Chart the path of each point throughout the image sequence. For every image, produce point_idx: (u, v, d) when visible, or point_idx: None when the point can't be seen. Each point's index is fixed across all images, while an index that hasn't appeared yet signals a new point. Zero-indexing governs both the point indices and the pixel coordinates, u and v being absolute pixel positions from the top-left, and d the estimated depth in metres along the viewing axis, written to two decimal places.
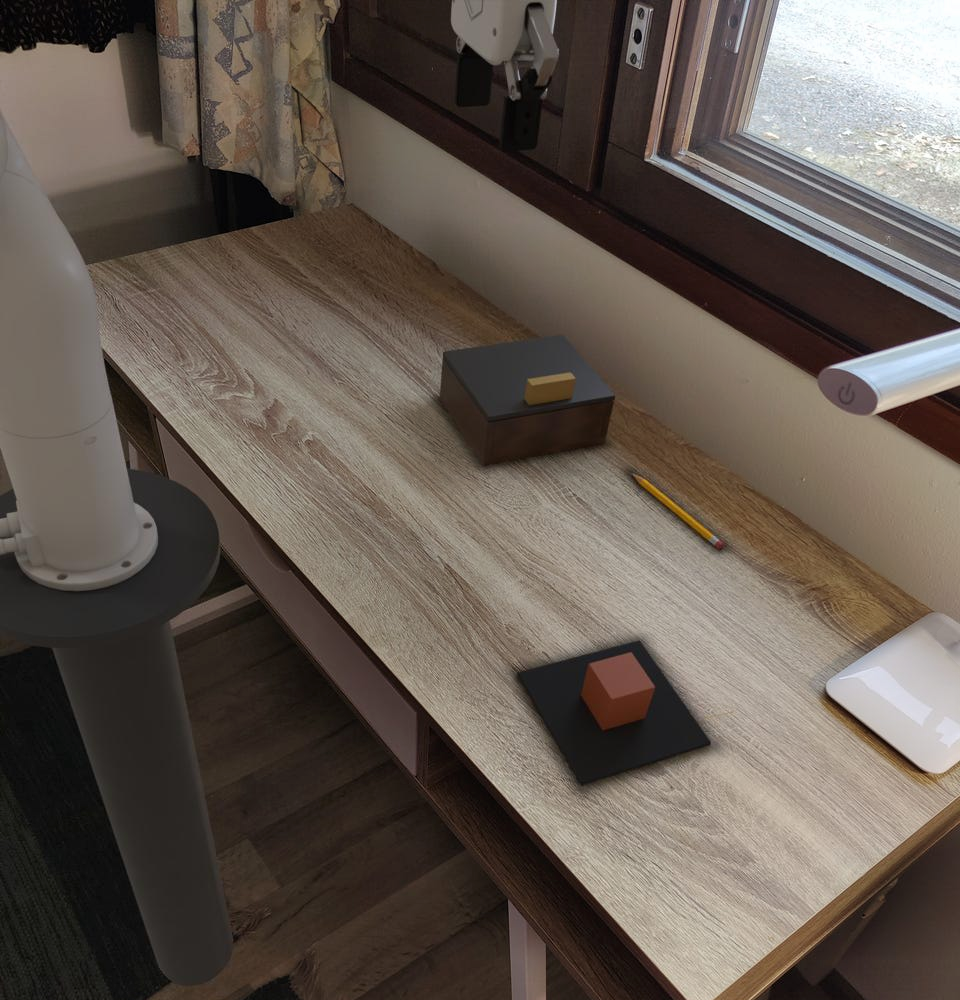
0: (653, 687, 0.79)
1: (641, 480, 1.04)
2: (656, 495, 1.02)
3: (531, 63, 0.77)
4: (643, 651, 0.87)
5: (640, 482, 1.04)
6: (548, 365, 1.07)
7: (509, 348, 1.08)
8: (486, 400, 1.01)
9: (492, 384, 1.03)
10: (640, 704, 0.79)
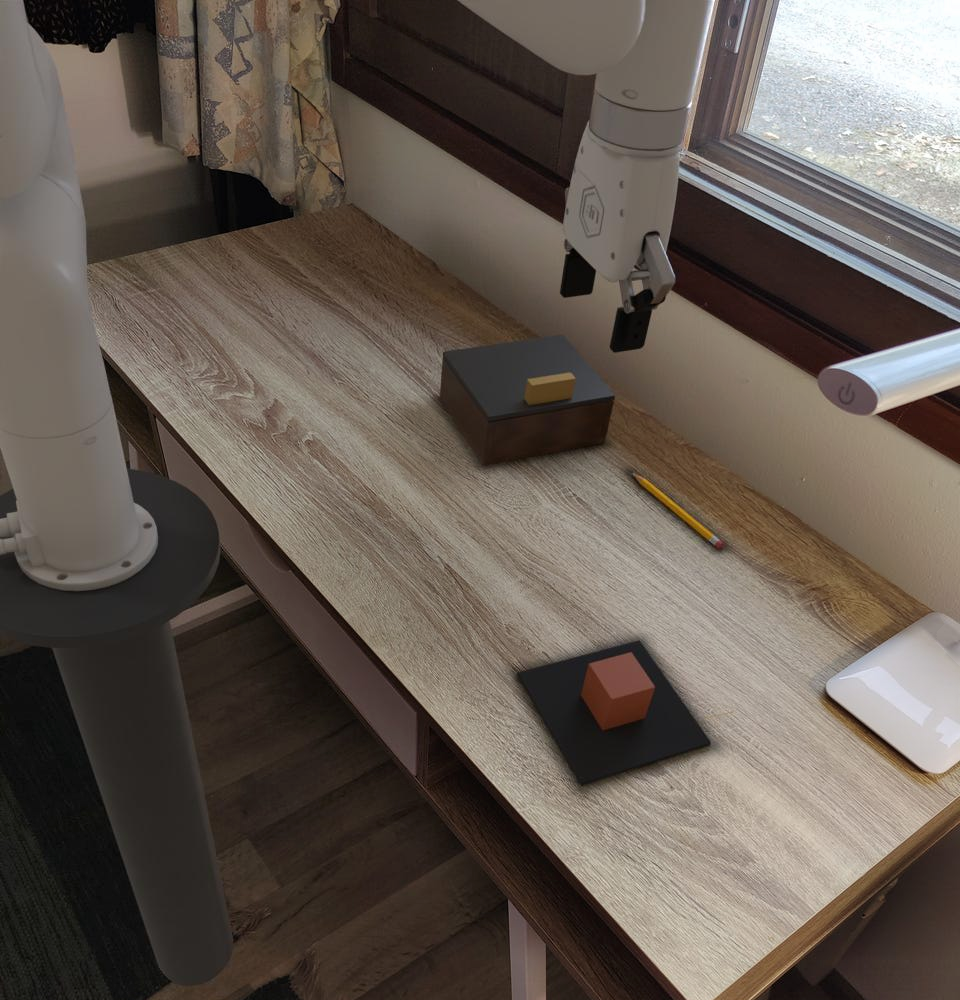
0: (653, 687, 0.79)
1: (641, 480, 1.04)
2: (656, 495, 1.02)
3: (643, 278, 0.82)
4: (643, 651, 0.87)
5: (640, 482, 1.04)
6: (548, 365, 1.07)
7: (509, 348, 1.08)
8: (486, 400, 1.01)
9: (492, 384, 1.03)
10: (640, 704, 0.79)
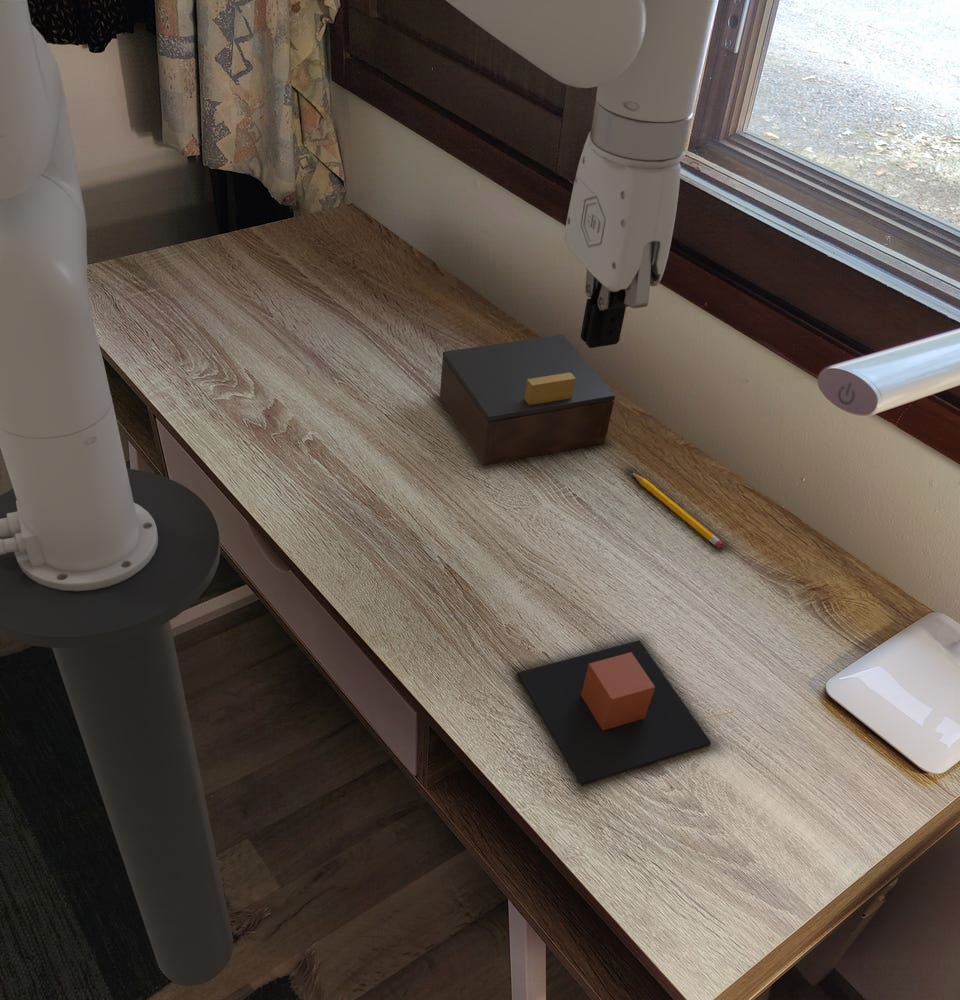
0: (653, 687, 0.79)
1: (641, 480, 1.04)
2: (656, 495, 1.02)
3: None
4: (643, 651, 0.87)
5: (640, 482, 1.04)
6: (548, 365, 1.07)
7: (509, 348, 1.08)
8: (486, 400, 1.01)
9: (492, 384, 1.03)
10: (640, 704, 0.79)
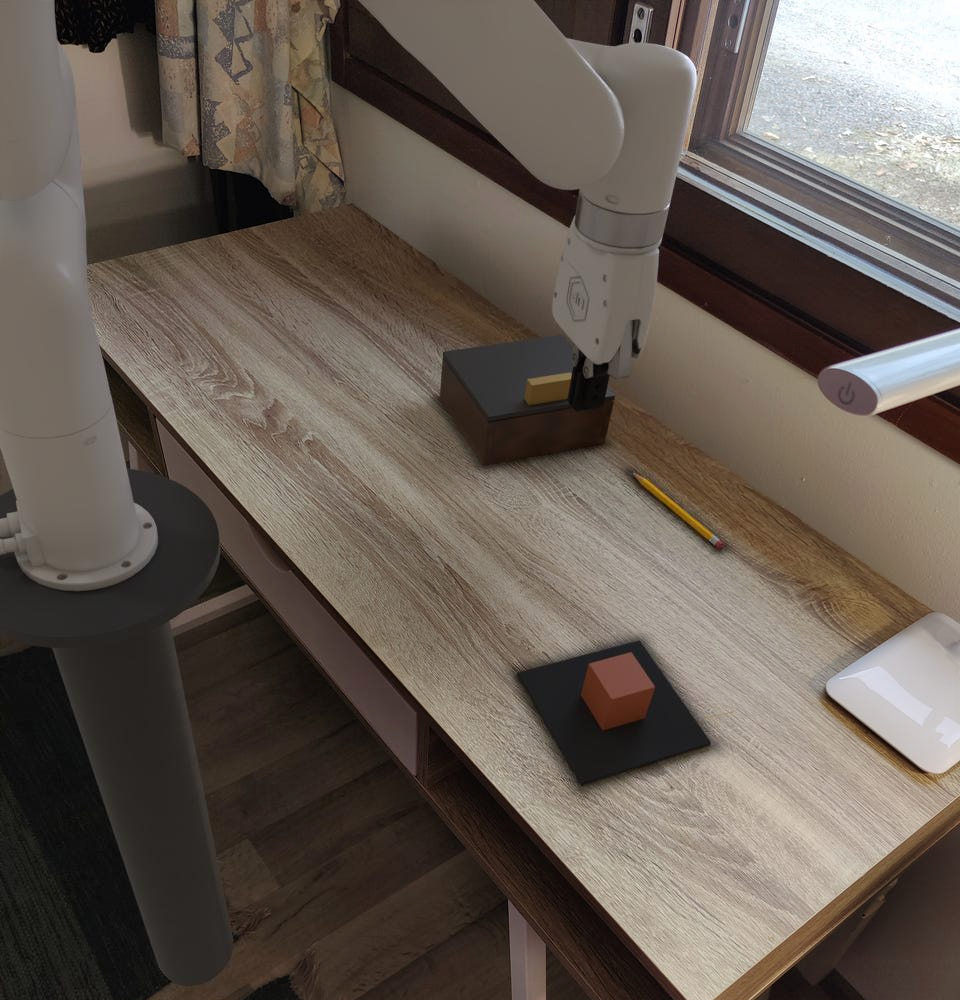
0: (653, 687, 0.79)
1: (641, 479, 1.04)
2: (656, 494, 1.02)
3: None
4: (643, 651, 0.87)
5: (641, 481, 1.04)
6: (548, 365, 1.07)
7: (509, 348, 1.08)
8: (486, 400, 1.01)
9: (492, 384, 1.03)
10: (640, 704, 0.79)
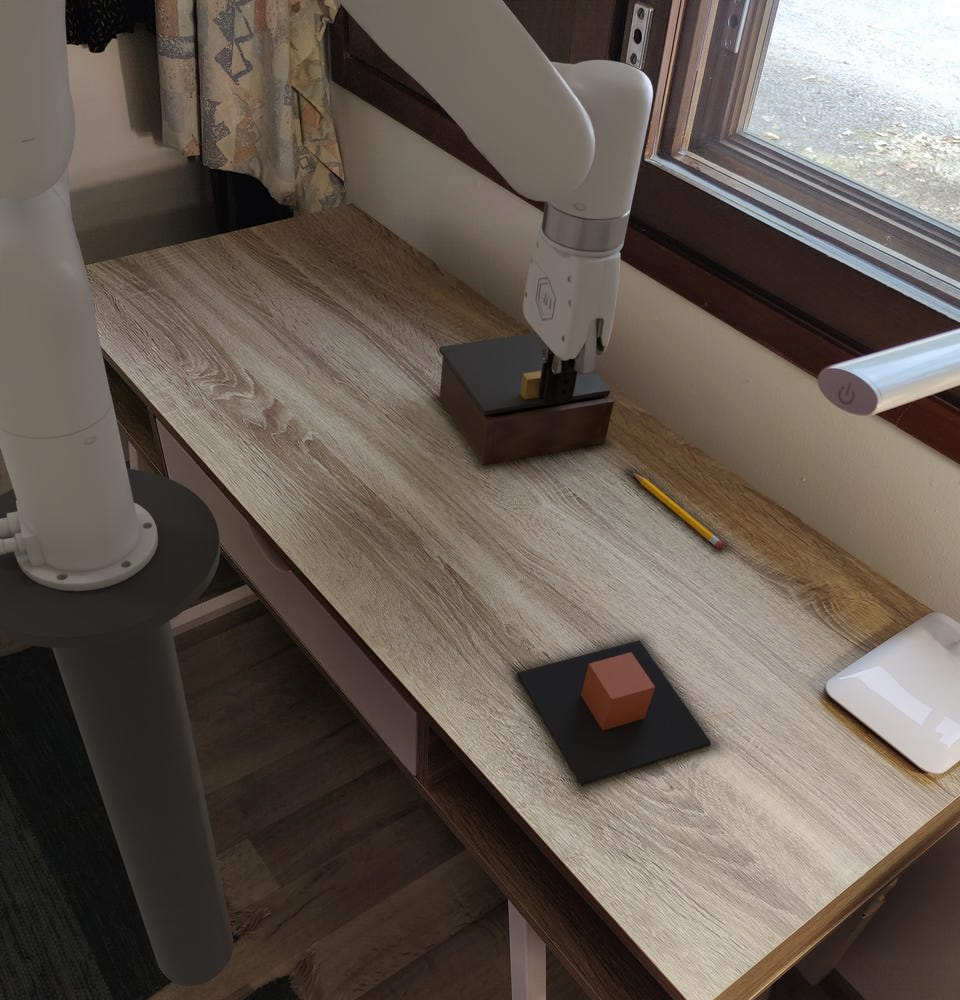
0: (653, 687, 0.79)
1: (642, 479, 1.04)
2: (657, 494, 1.02)
3: None
4: (643, 651, 0.87)
5: (641, 481, 1.04)
6: None
7: (505, 343, 1.09)
8: (482, 394, 1.02)
9: (488, 379, 1.04)
10: (640, 704, 0.79)
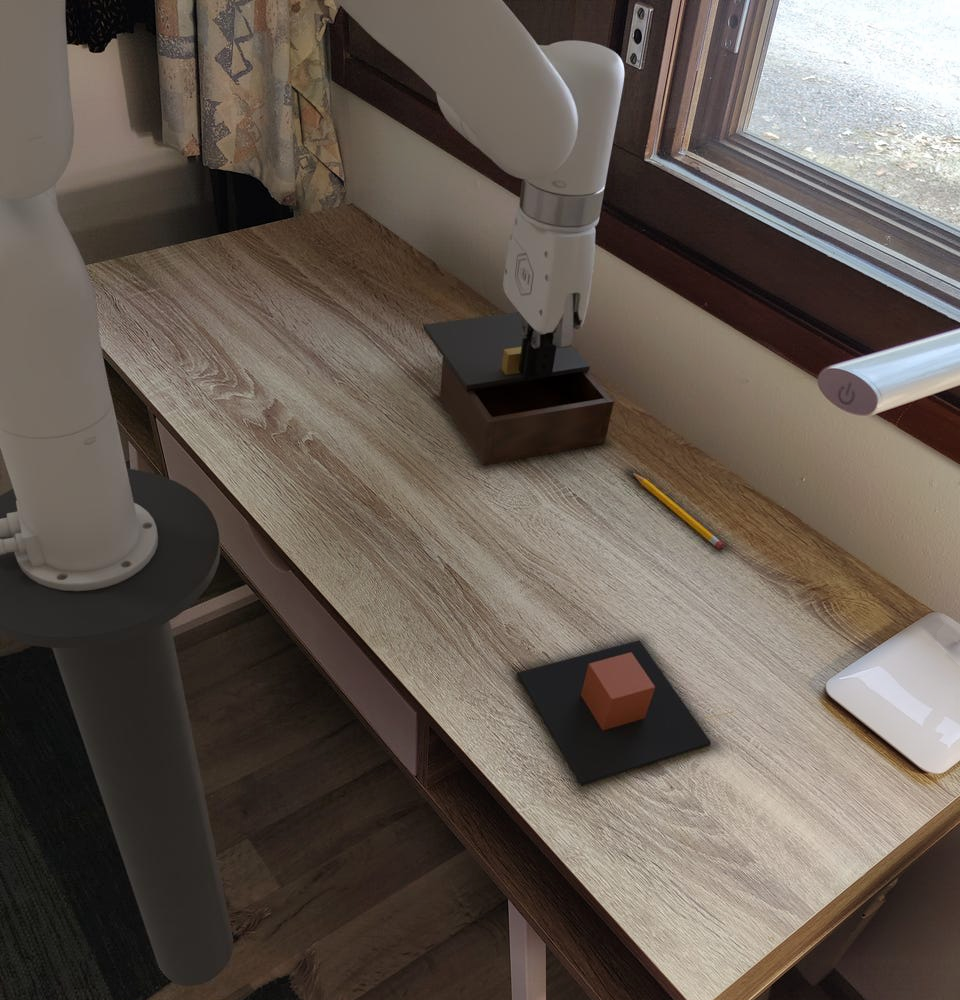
0: (653, 687, 0.79)
1: (642, 480, 1.04)
2: (657, 495, 1.02)
3: None
4: (643, 651, 0.87)
5: (641, 482, 1.04)
6: (525, 337, 1.10)
7: (488, 321, 1.12)
8: (464, 370, 1.05)
9: (470, 355, 1.07)
10: (640, 704, 0.79)
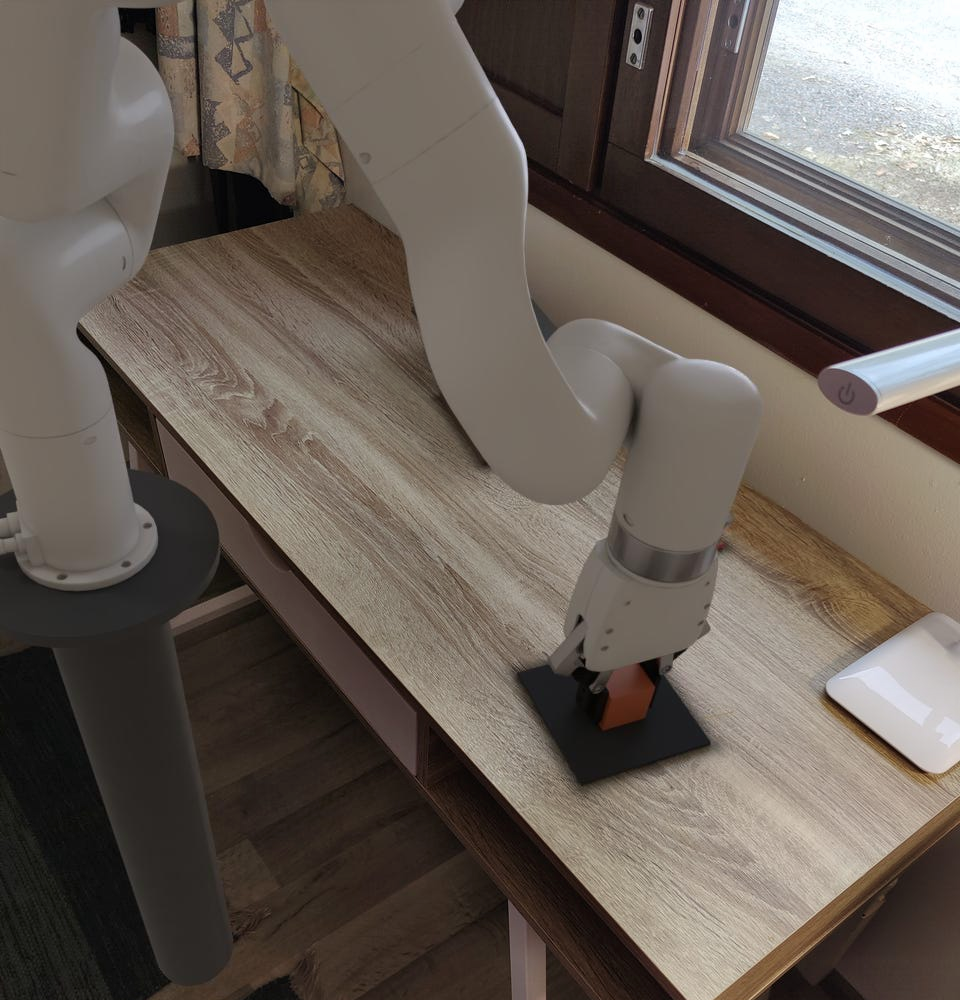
0: (653, 687, 0.79)
1: None
2: None
3: None
4: None
5: None
6: None
7: None
8: None
9: None
10: (640, 704, 0.79)
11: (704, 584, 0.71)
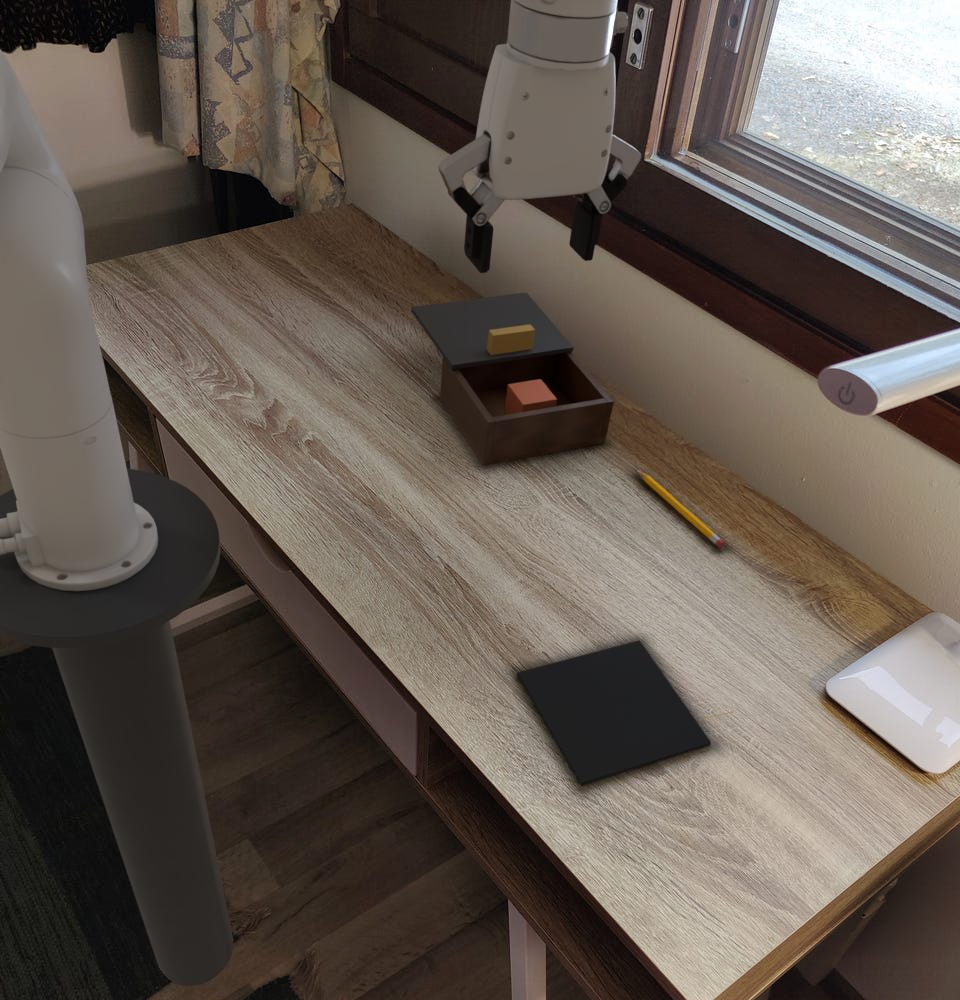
0: (555, 399, 1.05)
1: (645, 477, 1.03)
2: (659, 492, 1.02)
3: None
4: (643, 651, 0.87)
5: (644, 478, 1.04)
6: (511, 319, 1.13)
7: (474, 304, 1.14)
8: (450, 350, 1.07)
9: (457, 336, 1.09)
10: None
11: (603, 92, 0.73)
